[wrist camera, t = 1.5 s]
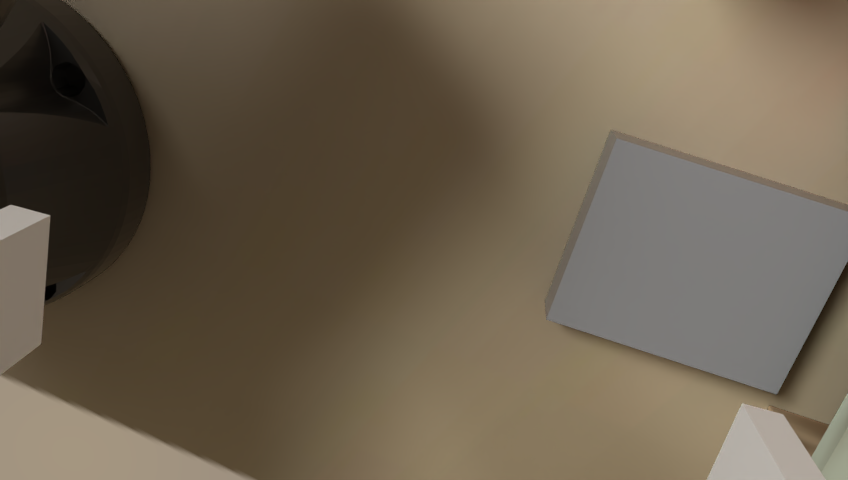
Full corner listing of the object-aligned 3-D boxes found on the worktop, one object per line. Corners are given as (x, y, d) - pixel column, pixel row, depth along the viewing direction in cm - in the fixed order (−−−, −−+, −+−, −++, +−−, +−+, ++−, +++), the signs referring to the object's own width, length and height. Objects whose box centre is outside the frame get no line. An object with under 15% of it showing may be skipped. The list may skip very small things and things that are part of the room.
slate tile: (544, 296, 33) (546, 319, 31) (609, 127, 30) (616, 138, 28) (758, 366, 33) (776, 394, 30) (843, 201, 30) (870, 218, 28)
